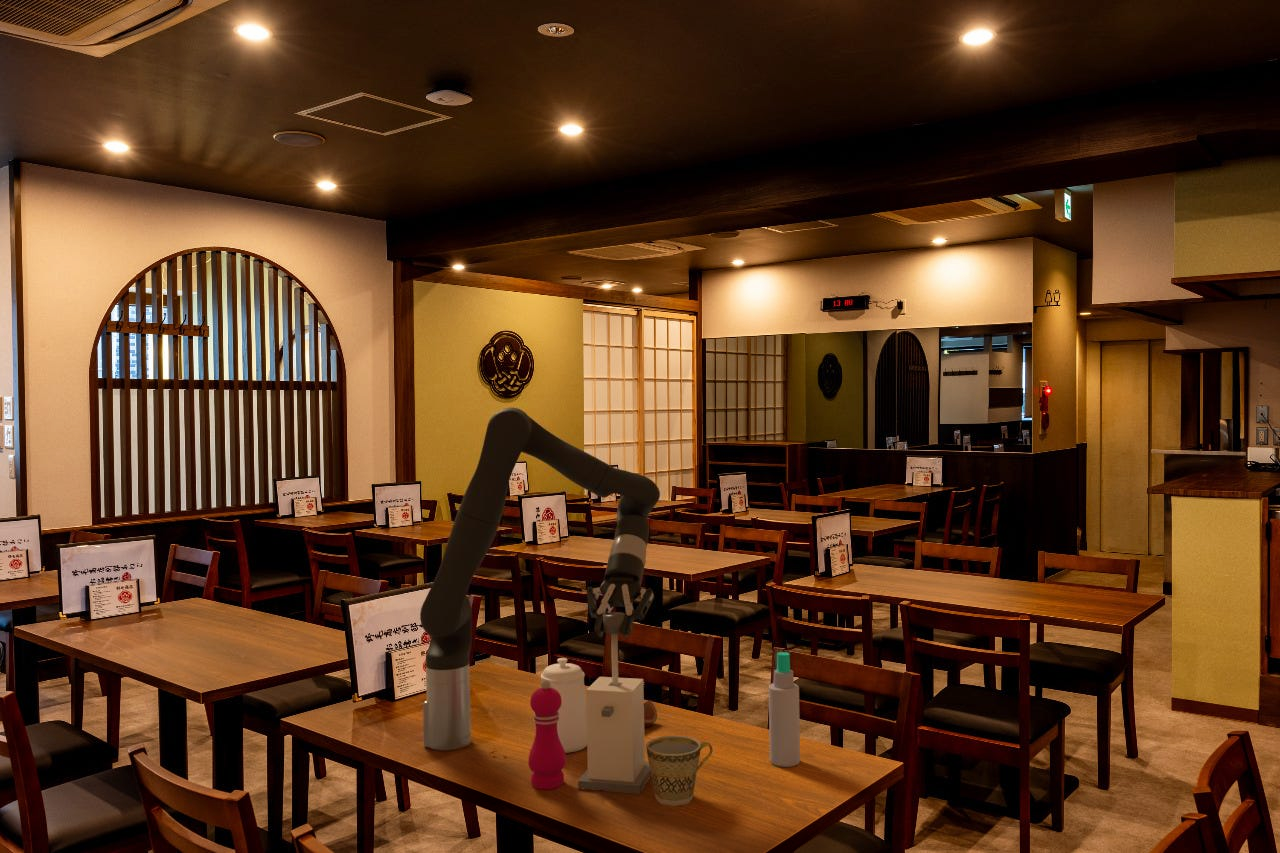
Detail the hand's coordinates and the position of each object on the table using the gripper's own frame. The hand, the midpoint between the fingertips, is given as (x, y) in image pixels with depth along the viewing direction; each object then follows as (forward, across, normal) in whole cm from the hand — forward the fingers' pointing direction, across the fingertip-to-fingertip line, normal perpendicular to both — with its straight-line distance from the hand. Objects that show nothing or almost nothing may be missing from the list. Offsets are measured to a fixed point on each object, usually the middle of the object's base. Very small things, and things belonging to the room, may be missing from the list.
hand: (611, 634), depth 181 cm
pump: (+11, 0, +13) cm, 17 cm away
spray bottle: (+8, +31, +32) cm, 46 cm away
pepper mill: (+22, -13, +18) cm, 32 cm away
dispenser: (+19, 0, +22) cm, 29 cm away
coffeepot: (+8, -16, +32) cm, 37 cm away
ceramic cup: (+23, +14, +17) cm, 32 cm away
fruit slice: (-3, -3, +44) cm, 44 cm away
